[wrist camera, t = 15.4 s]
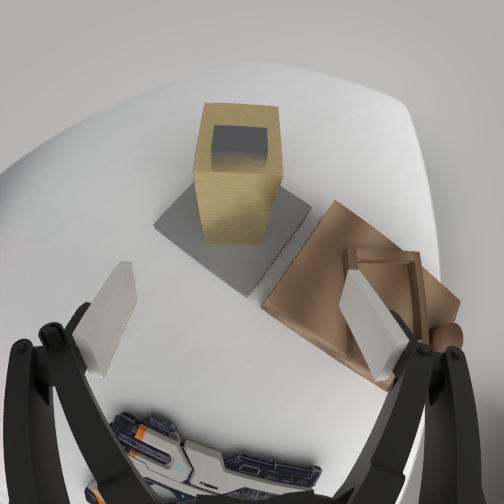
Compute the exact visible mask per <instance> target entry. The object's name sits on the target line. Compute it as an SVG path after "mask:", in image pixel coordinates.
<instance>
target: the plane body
mask: <svg viewBox="0 0 504 504" xmlns="http://www.w3.org/2000/svg"><path fill="white" fill-rule="evenodd" d="M348 270H359V271H360V272H361V273H362V274H363V276H364V277H365V278H366V280H367V281H368V282H369V284H370V285H371V287H372V288H373V289H374V291H375V292H376V293H377V295H378V296H379V297H380V299H381V300H382V302H383V303H384V304H385V306H386V307H387V309H388V310H394V311H395V312H396V313H397V314H399V315H400V316H401V318H402V319H403V321H404V322H405V323H406V325H407V327H408V328H409V329H410V331H411V332H412V333H413V335H414V336H415V338H416V339H417V341H418V342H422V343H425V344H427V345H429V346H430V347H431V348H432V349H433V351H434V352H440V353H444V352H445V350H446V348H447V347H448V346H456V347H458V348H460V349H461V348H462V344H463V333H462V330H461V328H460V327H459V325H458V324H456V323H454V321H455V318H456V315H457V312H458V309H459V305H460V300H459V299H457V298H456V297H455V296H454V295H453V294H452V293H451V292H450V291H449V290H448V289H447V288H446V287H444V286H443V285H442V284H441V283H440V282H439V281H438V280H437V279H436V278H434V277H433V276H432V275H431V274H430V273H429V272H428V271H426V270H425V269H424V268H423V267H422V265H421V259H420V253H419V252H412V251H403V250H401V249H400V248H399V247H398V246H396V245H395V244H394V243H393V242H391V241H390V240H389V239H387V238H386V237H385V236H384V235H382V234H381V233H380V232H378V231H377V230H376V229H374V228H373V227H372V226H371V225H369V224H368V223H367V222H365V221H364V220H362V219H361V218H360V217H358V216H357V215H356V214H354V213H353V212H351V211H350V210H349V209H347V208H346V207H344V206H343V205H342V204H340V203H339V202H337V201H336V200H335V201H334V202H333V204H332V205H331V207H330V208H329V210H328V211H327V212H326V214H325V215H324V217H323V218H322V220H321V221H320V223H319V224H318V226H317V227H316V229H315V230H314V232H313V233H312V235H311V236H310V238H309V239H308V241H307V242H306V244H305V245H304V246H303V248H302V249H301V251H300V252H299V254H298V255H297V257H296V258H295V260H294V261H293V262H292V264H291V265H290V267H289V268H288V270H287V271H286V273H285V274H284V275H283V277H282V278H281V280H280V281H279V283H278V284H277V285H276V287H275V288H274V290H273V291H272V292H271V294H270V295H269V297H268V298H267V299H266V301H265V302H264V304H263V305H262V306H261V308H262V309H263V310H265V311H266V312H267V313H269V314H270V315H272V316H273V317H274V318H276V319H277V320H279V321H280V322H282V323H283V324H284V325H286V326H287V327H289V328H290V329H292V330H293V331H295V332H296V333H298V334H299V335H300V336H302V337H303V338H305V339H306V340H308V341H309V342H311V343H312V344H314V345H315V346H317V347H318V348H320V349H321V350H323V351H324V352H326V353H327V354H329V355H330V356H332V357H333V358H335V359H336V360H338V361H339V362H341V363H342V364H344V365H345V366H347V367H349V368H350V369H352V370H353V371H355V372H356V373H358V374H359V375H361V376H363V377H364V378H366V379H367V380H369V381H370V382H372V383H374V384H375V385H377V386H378V387H380V388H382V389H383V390H385V391H387V392H389V391H388V390H387V389H388V388H389V386H390V384H391V383H392V381H393V380H394V378H395V375H394V373H393V371H392V373H391V375H390V376H389V378H388V379H386V380H381V381H375V379H374V377H373V375H372V373H371V371H370V369H369V366H368V364H367V362H366V360H365V358H364V356H363V354H362V352H361V350H360V348H359V346H358V344H357V342H356V339H355V337H354V335H353V333H352V331H351V329H350V327H349V325H348V323H347V321H346V319H345V317H344V315H343V314H342V312H341V310H340V308H339V302H340V299H341V295H342V292H343V288H344V284H345V280H346V277H347V273H348Z"/></svg>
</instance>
